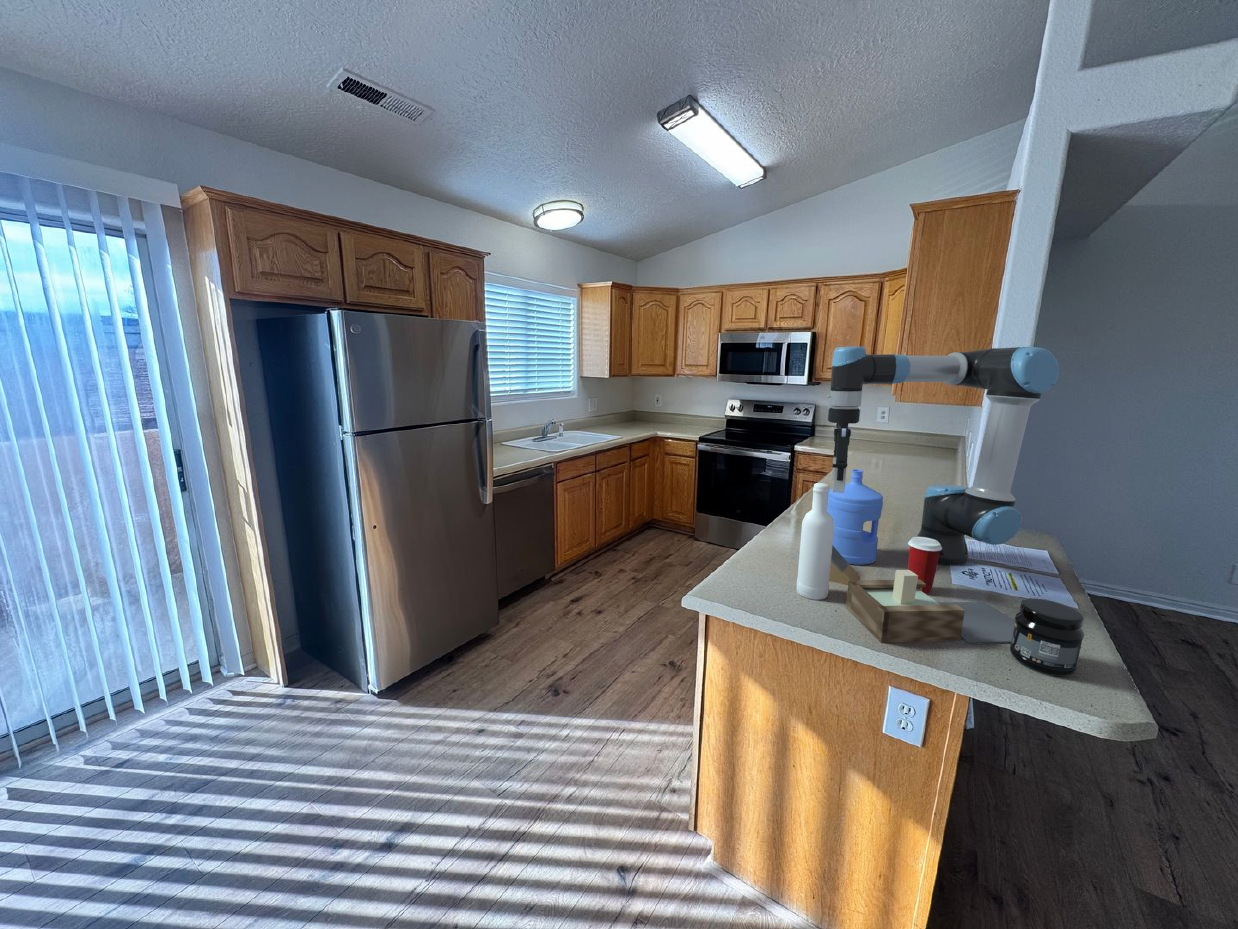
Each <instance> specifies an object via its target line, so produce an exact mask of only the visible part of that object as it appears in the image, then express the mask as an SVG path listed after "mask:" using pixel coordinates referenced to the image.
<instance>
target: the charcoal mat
mask: <svg viewBox="0 0 1238 929" xmlns="http://www.w3.org/2000/svg"><path fill="white" fill-rule="evenodd" d="M936 602H937V603H939V604H940V605H958V606H960V607H961V608H963V609H964V610H965V613H964V619H963V625H962V631H961V638H960V640H963V641H964V642H966V644H969V645H976V644H977V645H982V644H984V645H986V644H991V645H992V644H1011V642H1012V636H1013V631H1014V625H1015V618H1014V619H1013V618H1012V617H1011V616H1009V615H1008V614H1006V613H1003V612H1002V611H1001V610H999V609H997V608H995V607H994V606H992V605H991V604H989V603H987V602H986V601H944V602H943V601H942V602H940V601H939V602H938V601H936Z"/></svg>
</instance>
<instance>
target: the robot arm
mask: <svg viewBox="0 0 1238 929" xmlns="http://www.w3.org/2000/svg"><path fill="white" fill-rule="evenodd" d="M866 351H867V350H866V347H865V346H839V347H836V348H835V349H834V351H833V356H832V363H831V376H830V391H829V392H830V393H829V394H827V395H826V396H827V399H829V398H830V399H829V406H831V407H829V408H828V413H827V421H828V422H829V423H834V424H835V426H836V428H833V436H834V437H833V441H834V449H833V459H832V466H831V467H832V470H831V471H832V473H831V481H833V484H832V488H833V492H837V493H844V491H845V484H846V479H847V478H846V477H847V468H848V465H849V464H848V454H849V453H848V451H849V446H850V438H851V435H852V430H851V428H849V425H850V424H858V423H859V422H860V415H861V409H860V408H859V407H861V406H862V396H863V385H868V384H869V385H872V384H874V385H893V384H894V385H895V384H902V383H944V384H946V385H948V386H957V387H958V386H960V387H968V388H976V389H980V390H986V393H985V396H986V398H987V400H989V401H990V407H989V412H988V416H987V420H986V425H985V430H984V435H983V438H982V442H981V447H980V451H979V456H978V460H977V465H976V469H975V473H974V479H973V482H972V485H971V486H962V485H953V484H949V485H948V484H935V485H930V486H928V487H927V488H926V492H925V496H924V501H923V508H922V516H921V517H922V519H921V524H920V526H921V527H920V530H919V532H918V534H917V536H916V537H926V538H931V539H934V540H937V541H938V542H939V543H940V544H941V547H942V550H940V554H939V559H938V564H941V565H942V564H943V565H949V566H950V565H951V566H959V565H960V566H961V565H965V564H967V563H968V560H969V555H970V554H969V551H968V546H967V541H966V538H965V536H967V537H969V538H972V539H973V540H975V541H978V542H981V543H985V544H988V545H991V546H992V545H993V546H994V545H995V546H998V545H1002V544H1005V543H1007V542H1009V541H1010V540H1011V539H1013V538H1014V537H1016V535H1017V534H1018V532H1019V531H1020V529H1021V527H1022V523H1023V518H1022V517H1023V516H1022V515H1021V512H1020V511H1019V510H1018V509H1016V508H1015V504H1016V497H1015V496H1014V495H1013V494H1012V493H1011V491H1012V486H1013V482H1014V479H1015V478H1014V477H1015V473H1016V470H1017V466H1018V460H1019V457H1020V453H1021V448H1022V445H1023V440H1024V436H1025V432H1026V428H1027V423H1028V419H1029V415H1030V411H1031V407H1032V406H1033V405H1034V404H1036V403H1037V402H1040V400H1041V398H1042V397H1041V396H1042V393H1045V392H1047V391H1049V390H1050V389H1051V388H1052V387H1053V386H1054V385H1055V384H1056V382H1057V381H1058V378H1059V374H1060V373H1059V372H1060V371H1059V370H1060V368H1059V367H1060V366H1059V363H1058V360H1057V358H1056V357H1055V355H1054V354H1053V353H1052V352H1051V351H1050V350H1048V349H1046V348H1043V347H1035V346H1018V347H1016V346H1015V347H1003V348H1002V347H999V348H996V347H995V348H994V347H993V348H984V349H979V350H977V349H976V350H971V351H969V350H968V351H960V352H959V351H957V352H956V351H955V352H951V353H949V354H948V355H905V354H896V353H892V354H891V353H888V354H884V353H883V354H882V353H881V354H867V352H866Z"/></svg>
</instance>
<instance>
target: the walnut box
mask: <svg viewBox="0 0 1238 929" xmlns="http://www.w3.org/2000/svg"><path fill="white" fill-rule="evenodd" d="M894 581H895V579H881V580H880V579H872V580H871V579H869V580H868V579H867V580H866V579H864V580H861V579H860V580H859V581H849V582H848V585H847V591H846V592H847V594H846V602H845V609H846V610H847V611H848V612H849V613H850V614H851V615H852V616H853V617H854V618H855V619H856V620H857V621H858V622H859V623H860V624H861V625H862V626H863V627H865V629H866V630H867V631H869V633H870V634H872V635H873V637H874V638H876V640H877V641H878V642H880V643H921V642H924V643H925V642H960V641H961V631H962V625H963V619H964V613H965V610H964V609H963V608H961V607H960V606H958V605H905V606H883V605H882V604H881V603H879V602H878V601H877V600H876V599H875V598H873V597H872V596H871V595H870V594H869V593H867V592H866V591H865V590H864V589H872V588H894ZM925 586H926V584H925V583H924V582H922V581H921V580H917V587H916V588H917V589H919V590H920V587H925ZM920 591H921V590H920ZM923 593H924V592H923Z"/></svg>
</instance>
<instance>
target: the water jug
mask: <svg viewBox="0 0 1238 929" xmlns="http://www.w3.org/2000/svg"><path fill="white" fill-rule="evenodd" d="M863 473H864V470H863V469H852V470H851V479H850V482H848V483H845V491H844V493H837V492H833V487H832V488H829V490H830V491H829V494H828V505H827V512H828V513H829V514H830V515H831V516H832V518H833V521H834V535H833V546H834V547H835V548H836V550H837V551H838V552H839V553H840V554H841V555H842V557H843V558H844V559H845V560H846V561H847V562H848V563H849V565H855V566H856V565H857V566H859V565H860V566H863V565H869V564H872V563H874V562H876V560H877V558H878V552H877V551H878V543H879V537H878V527H879V520H880V519H881V516H882V510H883V505H884V501H883V500H884V497H883V495H882V494H881V493H880V492H878V491H877V490H875V489H873V488H871V487H869V486H867V485H865V484H863V478H864V477H863ZM866 522H871V527H870V528H871V529H870V531H867V530H864V524H865V523H866Z"/></svg>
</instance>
